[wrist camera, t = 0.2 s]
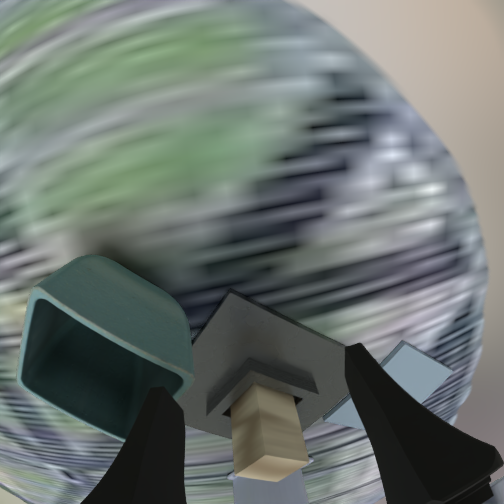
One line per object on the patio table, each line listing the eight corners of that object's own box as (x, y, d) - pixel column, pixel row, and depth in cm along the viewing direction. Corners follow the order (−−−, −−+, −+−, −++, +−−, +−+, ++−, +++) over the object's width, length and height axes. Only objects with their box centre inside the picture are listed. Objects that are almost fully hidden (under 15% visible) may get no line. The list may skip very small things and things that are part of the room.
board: (384, 430, 32) (386, 433, 31) (322, 417, 28) (324, 421, 28) (451, 368, 28) (453, 371, 28) (402, 340, 25) (405, 344, 24)
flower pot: (207, 286, 21) (200, 379, 13) (154, 361, 23) (135, 448, 15) (100, 221, 18) (31, 282, 10) (64, 309, 21) (14, 383, 13)
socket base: (277, 446, 30) (279, 459, 28) (147, 405, 26) (144, 421, 24) (375, 359, 26) (384, 374, 24) (230, 288, 21) (230, 304, 19)
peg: (265, 412, 26) (277, 481, 19) (230, 400, 25) (234, 475, 18) (291, 388, 25) (309, 462, 18) (254, 375, 24) (265, 454, 17)
